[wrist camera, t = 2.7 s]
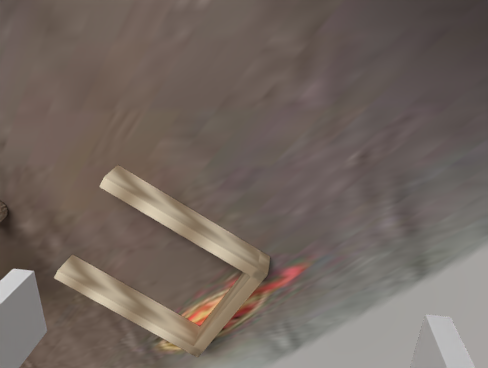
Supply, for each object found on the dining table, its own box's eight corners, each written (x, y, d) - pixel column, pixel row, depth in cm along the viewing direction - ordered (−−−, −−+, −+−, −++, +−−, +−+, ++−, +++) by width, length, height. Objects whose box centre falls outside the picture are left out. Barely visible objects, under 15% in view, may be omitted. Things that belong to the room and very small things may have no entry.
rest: (68, 261, 45) (53, 278, 43) (117, 165, 39) (104, 177, 37) (203, 337, 47) (197, 357, 45) (270, 256, 41) (267, 274, 39)
